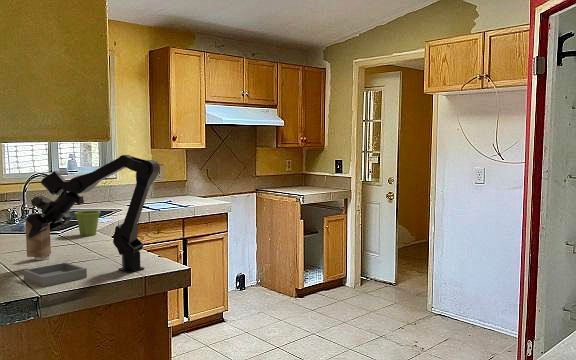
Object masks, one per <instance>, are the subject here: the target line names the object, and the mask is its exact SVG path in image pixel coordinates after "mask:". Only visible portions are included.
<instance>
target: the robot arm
mask: <svg viewBox="0 0 576 360" xmlns="http://www.w3.org/2000/svg"><path fill="white" fill-rule="evenodd" d="M124 169H128V170H130V171H132V172H135V182H136V184H135V187H134V190H133V193H132V195H131V200H130V202H129V206H128V208H127V212H126V215H125V218H124V221H123V223H122V224H119V225H116V226H115V229H114V234H113V235H112V236H111V237H112V239H113V240H112V241H113V242H112V243H113V244H114V247H116V249H117V252H118V254H119V255H121V267H118V271H121V272H123V273H124V272H125V273H133V272H137V271H142V270H145V267H143V266H141V251H142V250H143V247H144V245H145V244H144V243H143V242H142V241H141V240H140V239H139V238H138V234H139V231H138V230H139V227H138V223H139V220H140V217H141V214H142V212H143V208H144V205H145V203H146V200H147V196H148V192H149V190H150V187H151V186H152V184H153V183H154V181H155V180H156V179H157V177H158V175H159V173H160V171H161V166H160V164H159V162H158V161H157V160H155V159H143V158H139V157H135V156H132V155H130V154H123V155H122V154H121V155H120V156H119V157H118V158H116V159H113V160H112V161H110V162H108V163H106V164H105V165H102V166H100V167H99V168H97V169H95V170H93V171H91V172H89V173H85V174H81V175H77V176H75V177H72V178H71V179H70V180H66V179H65V178H64V177H63V176H62V174H61V173H60V172H59V171H58V170H55V171H54V170H53V171H52V172H51V173H50V174H48V175H46V176H44V177H43V178H42V179H41V181H40V184H41V185H42V187H44V188H45V189H46V190H47V191H48V192H49V193H50V194H51V195H52V196H55V195H56V196H58V197H56V198H55V200H52V199H50V198H48V197H46V196H43V195H38V196H34V197H33V198H32V199H31V200H30V203H31V206H32V207H35V208H37V209H39V210H40V212H41V213H40V212H35V213H30V214H28V216H27V217H26V218H25V220H27V221H28V222H29V223H30V224H31V225H32V228H31V230H30V233H29V235H28V236H29V237H30V238H31V237H33V236H35V235H37V234H39V233H41V232H43V231H45V230H47V229H46V228H47V227H48V223H50V231H52V230H54V229H55V230H56V229H57V228H58V227H59V228H60V227H62V226H63V225H66V224H68V223H70V222H71V220H72V219H71V214H70V212H71V209H72V208H73V207H74V205H75V204H77V206H78V205H83V204H85V201H84V196H83V195H82V196H81V195H79V194H86V193H88V192H90V191H92V190H93V189H95V187H96V186H97V185H98V184H99V183H100V182H101V181H103V180H105V179H107V178H109V177H111V176H112V175H115V174H116V173H118V172H120V171H122V170H124ZM41 214H43V215H41Z"/></svg>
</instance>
